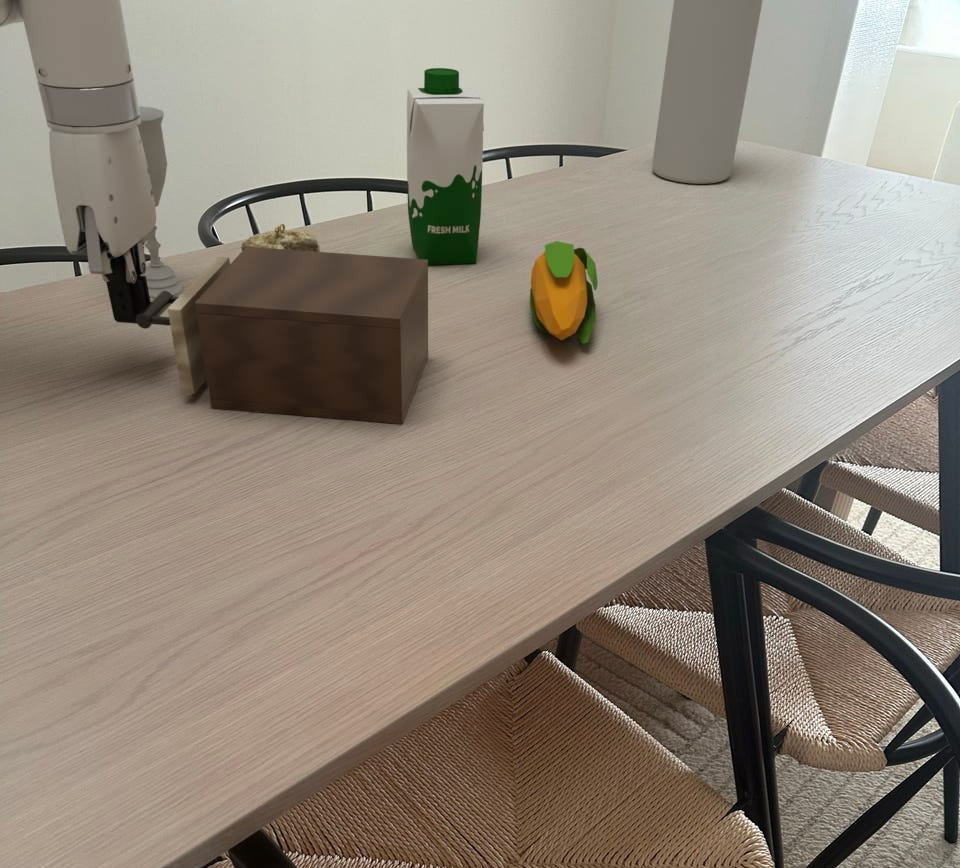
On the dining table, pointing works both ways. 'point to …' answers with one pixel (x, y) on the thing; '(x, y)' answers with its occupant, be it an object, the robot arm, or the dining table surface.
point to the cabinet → (316, 334)
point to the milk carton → (444, 168)
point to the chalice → (156, 199)
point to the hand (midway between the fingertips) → (134, 319)
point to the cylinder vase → (704, 88)
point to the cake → (284, 240)
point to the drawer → (184, 324)
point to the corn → (563, 291)
